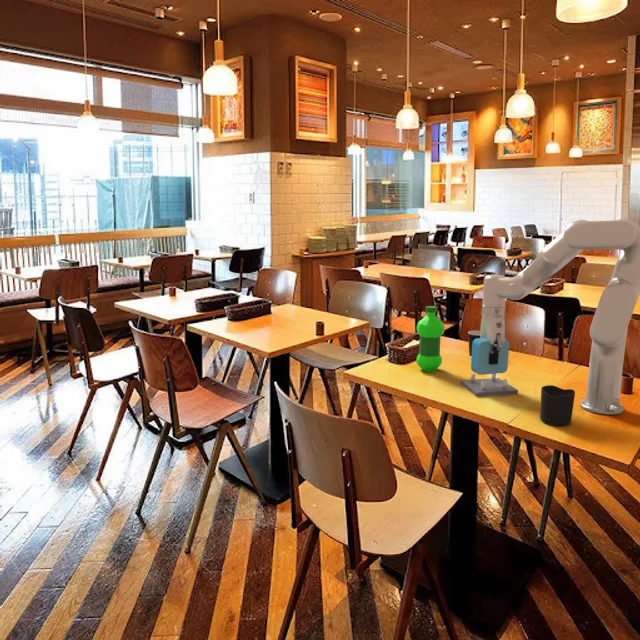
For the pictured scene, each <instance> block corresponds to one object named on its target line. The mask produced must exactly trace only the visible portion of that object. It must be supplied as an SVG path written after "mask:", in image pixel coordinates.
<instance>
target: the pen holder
mask: <svg viewBox="0 0 640 640" xmlns="http://www.w3.org/2000/svg"><path fill="white" fill-rule="evenodd" d="M540 389H541V390H540V409H539V410H540V411H539V413H540V416H539V418H540V421H541V422H542V423H543V424H545V425H548V426H552V427H559V428H560V427H562V428H563V427H567V426H569V425H570V424H571V423H572V417H573V410H574V402H575V397H576V391H575V389H572V388H569V389H568V388H567V389H564V388H561V387H558V386H557V385H550V384H549V385H548V384H547V385H543V386H542V387H541V388H540Z"/></svg>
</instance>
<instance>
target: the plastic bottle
mask: <svg viewBox="0 0 640 640" xmlns="http://www.w3.org/2000/svg"><path fill="white" fill-rule="evenodd" d="M425 312H426V315H425V316H424V317H423V318H422V319H421V320H419V321H418V322H417V325H416V333H417V334H418V335H419V342H418V345H419V347H418V348H419V349H418V354H417V356H416V360H415V361H416V364H417V366H418V367H419V368H420V369H421V370H422V371H424V372H430V373H431V372H435V371H436V370H437V369H438V368H439V367H441V365H442V364H443V363H442V362H443V358H442V356H441V337H442V335H444V332H445V324H444V322H443V321H442V320H440V319H439V318H438V317H437V316H436V313H438V307H437V306H436V305H427V306H425Z"/></svg>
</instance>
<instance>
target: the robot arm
mask: <svg viewBox="0 0 640 640" xmlns="http://www.w3.org/2000/svg"><path fill="white" fill-rule="evenodd" d="M584 250H586V251H587V250H589V251H590V250H591V251H592V250H596V251H597V250H599V251H600V250H605V251H607V250H608V251H609V250H614V251H616V250H618V252H619V253H618V256H617V260H616V262H615V265H614V270H613V273H612V274H611V275H612V276H611V277H610V279H609V282H608V284H607V285H606V286H605V287H604V289H603V291H602V292H601V296H600V298H599V301H598V303H597V307H596V310H595V312H594V316H593V317H592V321H591V324H590V327H589V336H590V338H591V340H592V341H591V349H590V354H589V355H590V357H589V367H588V374H587V375H588V376H587V385H586V386H587V387H586V395H585V398H583V399H582V400H580V401H579V402H580V403H579V405H580V407H581V408H582V409H583V410H586V411H588V412H591V413H594V414H599V415H600V414H601V415H609V416H610V415H619V414H621V413H623V412H624V409H625V406H624V405H622V404H621V400H622V399H621V398H620V395H621V393H620V392H621V387H622V386H621V385H622V376H623V368H624V367H623V366H624V358H625V351H626V343H627V339H628V338H627V337H628V332H629V331H628V329H629V328H628V326H629V324H630V321H631V318H632V317H633V314H634V310H635V308H636V305H637V302H638V301H639V295H640V224H639V223H637V222H636V221H634V220H632V219H629V218H620V219H616V220H587V219H578V220H574V221H572V222H570V223H568V225H567V226H566V227H565V228H564V230H563V231H562V232H561V233H560V234H559V235H558V236H556V237H555V238H554V239H553V240H551V242H549V243H548V244H547V245H545V246H544V247H543V248H542V249H541V250H540V252H539V254H538V255H537V257H536V258H535V259H534V260H533V261H532V262H531V263H529V265H528V266H526V267H525V268H524V269H523V270H522V271H520V272H519V273H518V274H517V275H515V276H513V277H506V276H504V275H502V274H487V275H485V276H484V278H483V287H482V288H483V289H482V302H481V303H482V304H481V305H482V307H481V321H480V330H479V331H480V338H484V339H486V340H487V341H489V344H490V351H491V353H489V364H490V365H494V364H498V356H499V352H500V349H501V348H502V345H503V344H504V342H505V339H506V322H505V311H506V299H509V300H513V301H514V300H515V301H518V300H522V299H524V298H525V297H526V296H528V295H529V294H531V293H532V292H533V291H534V290H535V289H537V288H538V287H540V286H541V284H543V283H544V282H546V280H548V279H549V278H550V277H552V276H553V275H554V274H555V273H556V274H557V273H558V272H559V271H561V269H563V268H564V267H565V266H566V265H567V264H568V263H569V262H571V261H572V260H574V258H576V257H577V256H578V255H579V254H581V253H582V252H583V251H584ZM494 343H497V344H494ZM493 346H496V347H495V348H494V349H493Z"/></svg>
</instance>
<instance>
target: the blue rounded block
mask: <svg viewBox="0 0 640 640" xmlns="http://www.w3.org/2000/svg"><path fill="white" fill-rule="evenodd" d="M494 344H497V343H494ZM495 347H496V346H493V349H494V348H495ZM489 353H491V351H490V344H489V341H487V340H486V339H484V338H477V339H475V340H474V341H473V343H472V357H471V360H470V369H471V371H472V372H473V373H474V374H477V375H480V376H485V375H492V374H496V375H497V374H504V373H506V372H507V371H508V366H509V365H508V364H509V353H510V341H509V340H508V339H506V338H505V342H504V344H503V345H502V348H501V349H500V352H499V356H498V364H494V365H490V364H489Z"/></svg>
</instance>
